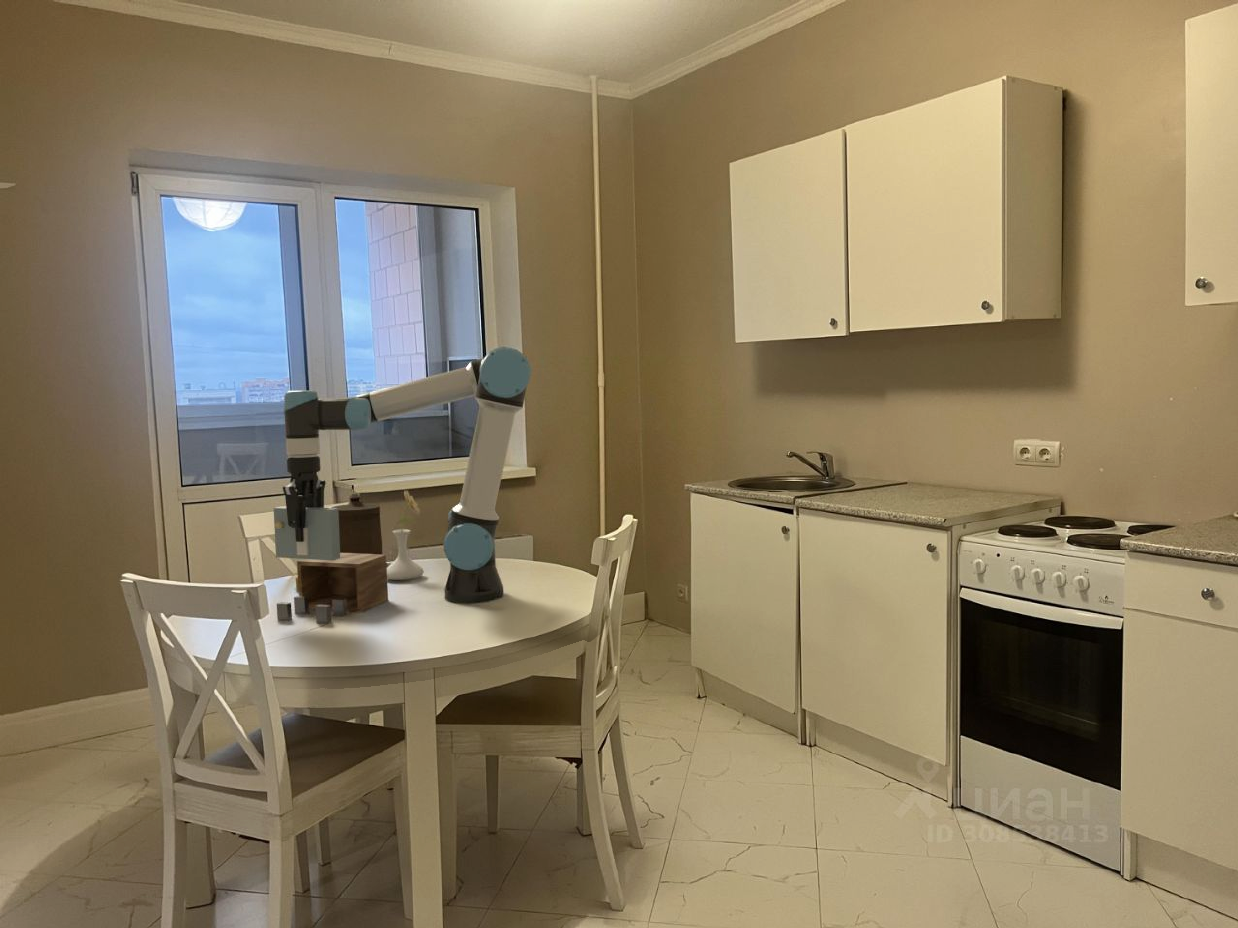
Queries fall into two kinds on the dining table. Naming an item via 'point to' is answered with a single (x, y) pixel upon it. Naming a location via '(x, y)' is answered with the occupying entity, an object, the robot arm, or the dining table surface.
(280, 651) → the dining table surface
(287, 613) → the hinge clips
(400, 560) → the flower in vase
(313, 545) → the door
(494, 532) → the robot arm
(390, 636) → the dining table surface
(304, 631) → the dining table surface
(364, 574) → the cabinet
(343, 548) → the wooden container
